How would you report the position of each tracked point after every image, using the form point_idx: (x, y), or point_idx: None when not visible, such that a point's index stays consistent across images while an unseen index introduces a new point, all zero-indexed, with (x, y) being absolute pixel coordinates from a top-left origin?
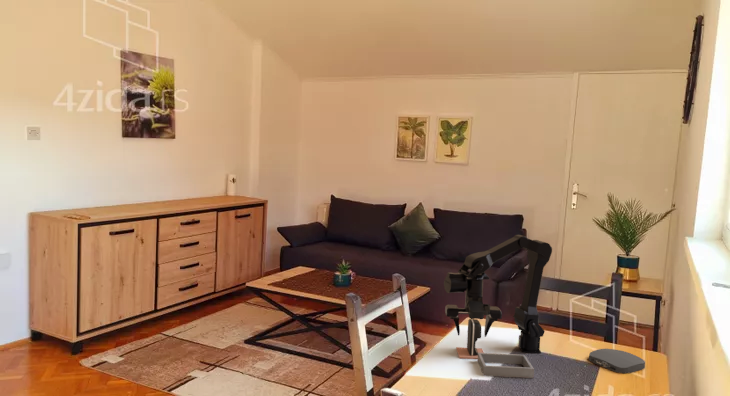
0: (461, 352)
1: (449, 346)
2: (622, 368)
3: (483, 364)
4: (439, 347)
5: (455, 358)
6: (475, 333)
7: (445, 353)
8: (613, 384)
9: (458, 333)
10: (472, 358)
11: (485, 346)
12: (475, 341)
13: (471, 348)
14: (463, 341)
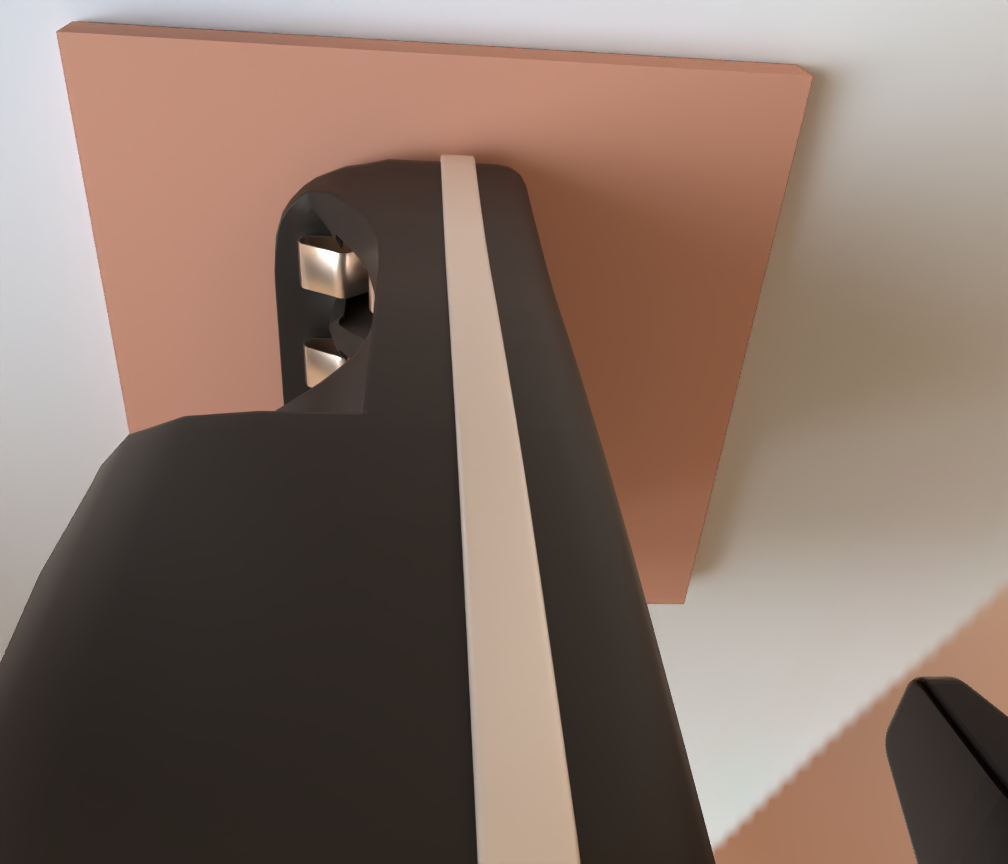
0: (665, 363)
1: (763, 661)
2: None
3: None
4: (966, 607)
5: (899, 68)
6: (371, 583)
7: (995, 353)
8: None
9: (1004, 726)
10: (462, 50)
11: None
12: (364, 357)
13: (498, 236)
14: None
